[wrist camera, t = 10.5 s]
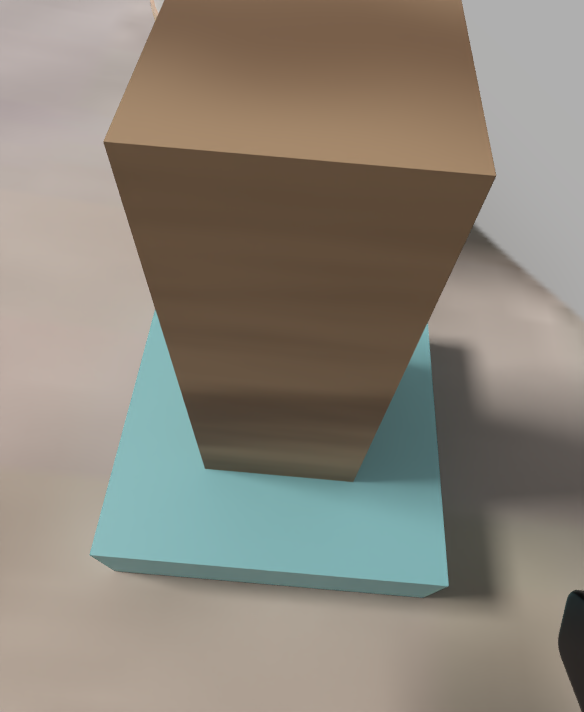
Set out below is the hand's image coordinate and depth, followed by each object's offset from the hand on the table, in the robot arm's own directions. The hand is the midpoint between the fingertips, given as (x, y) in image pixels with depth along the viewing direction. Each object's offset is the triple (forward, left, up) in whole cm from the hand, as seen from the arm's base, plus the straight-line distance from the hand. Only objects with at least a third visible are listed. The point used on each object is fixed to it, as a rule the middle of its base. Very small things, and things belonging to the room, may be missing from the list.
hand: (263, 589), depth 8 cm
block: (+3, +6, -8) cm, 11 cm away
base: (+3, +6, -11) cm, 13 cm away
